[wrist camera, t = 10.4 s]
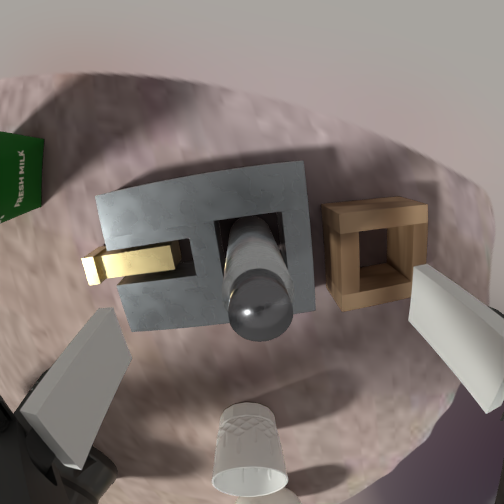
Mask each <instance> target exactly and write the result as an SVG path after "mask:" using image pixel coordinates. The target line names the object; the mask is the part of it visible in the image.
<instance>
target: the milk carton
mask: <svg viewBox="0 0 504 504" xmlns="http://www.w3.org/2000/svg"><path fill="white" fill-rule="evenodd" d="M43 147H44V139H40V138H35V137H30V136H24V135H18V134H13V133H7V132H0V223H3V222H5V221H7V220H10V219H12V218H14V217H17V216H19V215H22V214H24V213H26V212H29V211H31V210H34V209H36V208H39V207H41V183H42V160H43Z"/></svg>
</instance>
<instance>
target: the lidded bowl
mask: <svg viewBox="0 0 504 504" xmlns="http://www.w3.org/2000/svg"><path fill="white" fill-rule="evenodd" d="M235 504H302V503H301V501H300V499H299V498H298V497H297V495H296V494H295V493H293V492H292V491H291V490H289V489H287V488H286V487H283V488H282V489H280V490H279V491H277V492H274V493H271V494H268V495H263V496H256V497H240V496H239V497H238V498H237V500H236V502H235Z"/></svg>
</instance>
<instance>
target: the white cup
mask: <svg viewBox="0 0 504 504" xmlns="http://www.w3.org/2000/svg"><path fill="white" fill-rule="evenodd" d="M287 483H288V475H287V470H286V465H285V460H284V455H283V450H282V446H281V442H280V437H279V433H278V431H277V428H276V423H275V417H274V414H273V413H272V412H271V410H270V409H269V408H268V407H266V406H263V405H261V404H259V403H249V402H244V403H239V404H234V405H232V406H230V407H229V408H227V409H225V410H224V412H223V413H222V415H221V417H220V424H219V431H218V435H217V443H216V448H215V457H214V466H213V475H212V484H213V486H214V487H215V488H216V489H217V490H219V491H221V492H223V493H226V494H229V495H233V496H240V497H256V496H263V495H268V494H271V493H274V492H277V491H279V490H280V489H282V488H283V487H285V486H286V484H287Z"/></svg>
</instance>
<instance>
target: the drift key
mask: <svg viewBox="0 0 504 504" xmlns="http://www.w3.org/2000/svg"><path fill="white" fill-rule="evenodd" d="M181 258H182V256H181V251H180V246H179V241H178V240H173V241H167V242H160V243H154V244H148V245H141V246H135V247H129V248H123V249H117V250H111V251H107V249H106V246H101V247H98V248H97V249H95V250H94V251H92V252H91V253H89V254H88V255H86V256H85V257H83V258H82V262H83V265H84V269H85V272H86V276H87V279H88V282H89V285H94V284H101V283H102V282H103V281H104V280H105V279H106V278H113V277H121V276H128V275H136V274H144V273H151V272H159V271H166V270H174V269H176V267H177V265H178V263H179V262H180V260H181Z"/></svg>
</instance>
